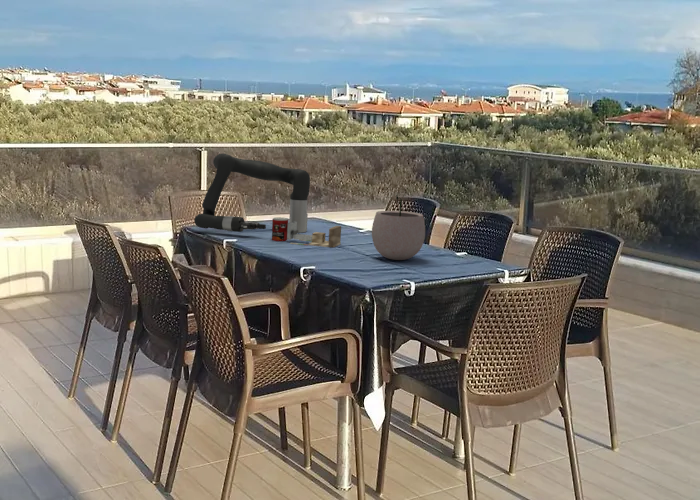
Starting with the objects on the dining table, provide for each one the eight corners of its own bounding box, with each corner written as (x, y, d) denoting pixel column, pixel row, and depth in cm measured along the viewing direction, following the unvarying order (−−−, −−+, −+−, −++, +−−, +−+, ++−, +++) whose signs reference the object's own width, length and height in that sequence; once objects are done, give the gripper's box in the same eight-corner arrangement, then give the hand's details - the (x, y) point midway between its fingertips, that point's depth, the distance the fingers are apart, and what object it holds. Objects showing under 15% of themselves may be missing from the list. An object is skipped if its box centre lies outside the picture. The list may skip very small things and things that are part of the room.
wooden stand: (289, 243, 395) (290, 225, 394) (300, 239, 409) (300, 222, 408) (332, 248, 389) (333, 229, 388) (341, 243, 404) (342, 225, 402)
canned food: (269, 240, 402) (269, 218, 400) (276, 238, 409) (277, 216, 408) (282, 242, 399) (283, 219, 398) (290, 240, 407) (291, 218, 405)
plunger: (287, 239, 398) (287, 223, 397) (293, 237, 407) (294, 221, 406) (310, 241, 395) (311, 225, 394) (316, 239, 404) (317, 223, 402)
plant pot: (415, 255, 382) (420, 191, 377) (429, 264, 358) (434, 196, 354) (365, 254, 377) (369, 189, 373) (376, 263, 354) (380, 194, 349)
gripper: (227, 217, 403) (260, 220, 399) (238, 215, 416) (270, 218, 411) (227, 232, 405) (259, 236, 400) (238, 229, 417) (270, 232, 413)
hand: (265, 226), depth 406 cm, fingers closed
